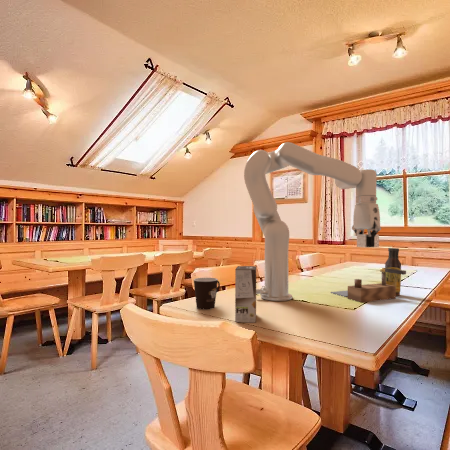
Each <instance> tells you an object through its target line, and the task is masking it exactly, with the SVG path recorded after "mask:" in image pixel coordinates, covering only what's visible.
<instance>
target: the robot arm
mask: <svg viewBox="0 0 450 450" xmlns="http://www.w3.org/2000/svg"><path fill="white" fill-rule="evenodd" d="M289 166H290V167H292V168H294V169H297V170H299V171H301V172H303V173H305V174H307V175H312V176H323V177H328V178H331V179H334V184H335V187H337V188H339V189H340V190H341V189H342V190H349V189H355V205H354V211H353V225H352V226H351V230H353V232H354V233H355V236H356V237H357V234H364V233H365V230H366V231H367V234H368V236H369V237H367V247H366V248H375V247H374V237H376V235H378V233H379V232H380V231H381V230H382V227H381V215H380V207H379V204H378V203H377V201H378V197H377V171H375V170H374V169H370V168H369V169H361V170H360V169H359V168H358V167H356V166H355V165H353V164H350V163H348V162H346V161H343V160H341V159H338V158H334V157H329V156H327V155H322V154H318V153H316V152H314V151H312V150H309V149H307V148H305V147H303V146H300V145H298V144H295V143H294V142H289V141H287V142H284V143H282V144H281V145H279V147H278V148H277V149H276V150H273V151H270V152H267V151H266V150H263V149H257V150H256V151H254V152H253V153H252V154H251V155H250V156H249V158H248V159H247V161H246V163H245V166H244V171H243V178H244V184H245V187H246V189H247V193H248V195H249V197H250V199H251V202H252V205H253V214H254V215H255V218H256V220H257V223H258V225H259V227H260V230H261V232H262V233H263V236H264V285H262V287H261V288H260V289H259V288H256V295H260V298H261V299H263V300H266V301H272V302H283V301H285V302H286V301H291V300H292V299H293V294H291V293H289V244H290V242H289V241H290V230H289V227H288V225H287V223H286V222H285V221H283V220H282V219H281V216H280V215H279V212H278V203H277V202H276V199H275V197H274V196H273V194H272V191H271V189H270V187H269V183H268V181H267V179H266V177H267V176H266V175H268V174H271V173H274V172H277V171H280V170H283V169H285V168H287V167H289Z"/></svg>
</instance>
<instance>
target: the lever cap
mask: <svg viewBox="0 0 450 450" xmlns="http://www.w3.org/2000/svg"><path fill="white" fill-rule="evenodd" d="M367 237H369V236H368V233H367V234H357V236H356V248H357V247H358V248H368V247H367ZM379 247H380V234H376V237H374V247H373V248H379Z"/></svg>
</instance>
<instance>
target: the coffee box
mask: <svg viewBox="0 0 450 450" xmlns="http://www.w3.org/2000/svg"><path fill="white" fill-rule="evenodd" d="M234 272H235V274H234V275H235V279H234V280H235V281H234V282H235V283H234V284H235V285H234V286H235V287H234V289H235V291H234V292H235V294H234V295H235V297H234V298H235V301H234V303H235V305H234V306H235V307H234V308H235V309H234V311H235V312H234V313H235V315H234V316H235V317H234V322H236V323H256V318H257V317H256V316H257V294H256V289H257V266H256V265H254V266H253V265H237V267H235V271H234Z"/></svg>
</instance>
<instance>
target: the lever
mask: <svg viewBox="0 0 450 450" xmlns="http://www.w3.org/2000/svg"><path fill="white" fill-rule="evenodd" d="M379 272H381V273H382V272H388V273H395V274H401V276H402V275H407V270H402V269H401V270H396V269H388V268H385V267H379Z"/></svg>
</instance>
